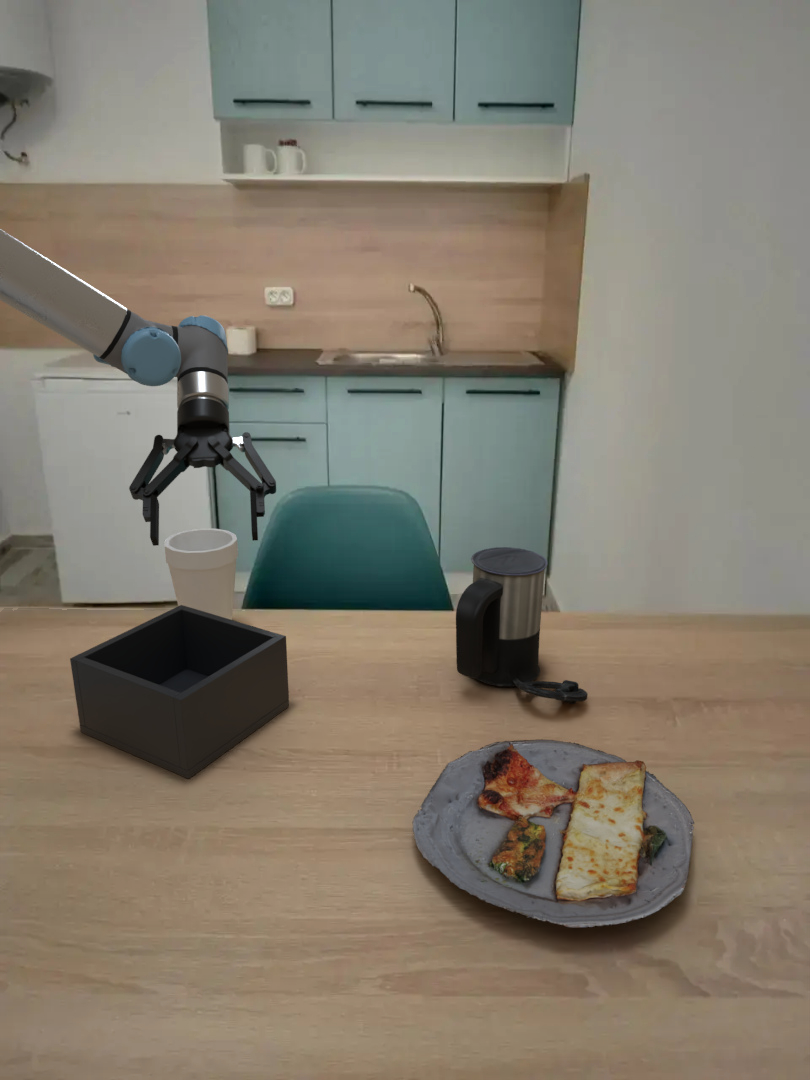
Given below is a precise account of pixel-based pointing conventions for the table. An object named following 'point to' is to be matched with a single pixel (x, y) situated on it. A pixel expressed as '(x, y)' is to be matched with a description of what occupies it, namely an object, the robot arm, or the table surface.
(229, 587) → the foam cup
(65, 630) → the table surface
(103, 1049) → the table surface
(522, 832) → the food plate
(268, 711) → the black storage bin
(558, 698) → the milk frother
